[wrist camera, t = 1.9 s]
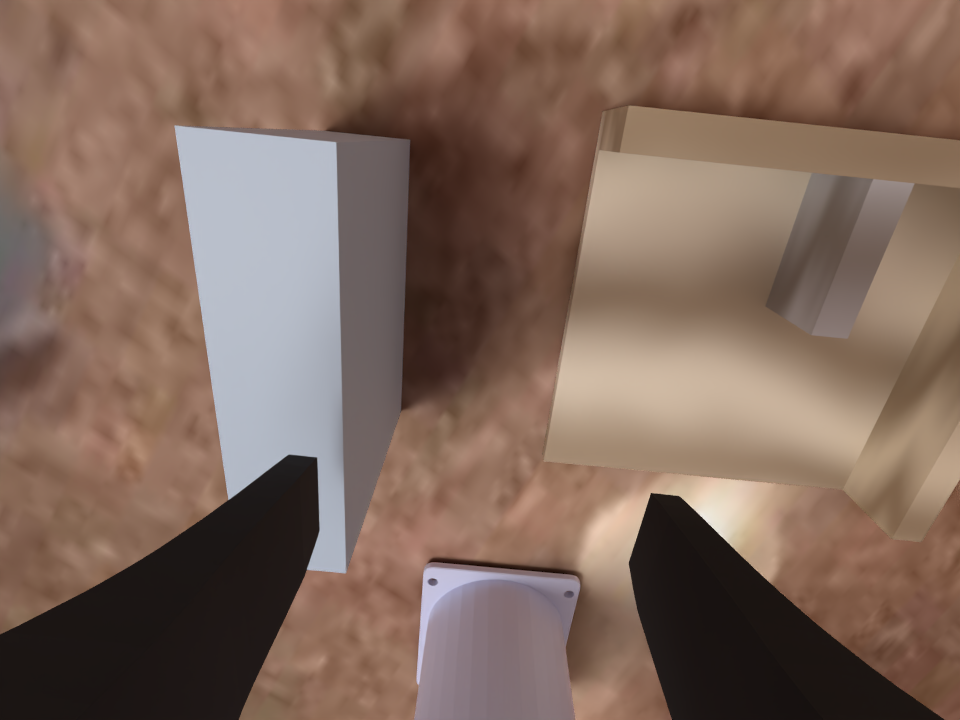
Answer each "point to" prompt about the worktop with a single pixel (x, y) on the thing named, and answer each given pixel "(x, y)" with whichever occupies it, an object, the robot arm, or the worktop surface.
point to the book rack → (768, 310)
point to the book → (302, 305)
